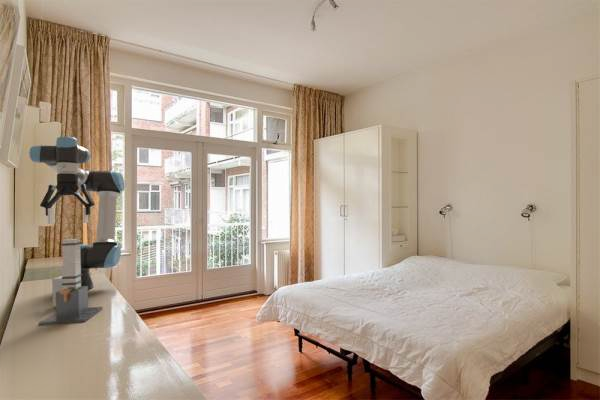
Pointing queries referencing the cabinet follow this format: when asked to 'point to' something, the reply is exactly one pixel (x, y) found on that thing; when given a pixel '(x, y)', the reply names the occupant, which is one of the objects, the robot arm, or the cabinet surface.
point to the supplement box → (56, 287)
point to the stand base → (71, 307)
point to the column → (71, 264)
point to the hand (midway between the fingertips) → (68, 223)
